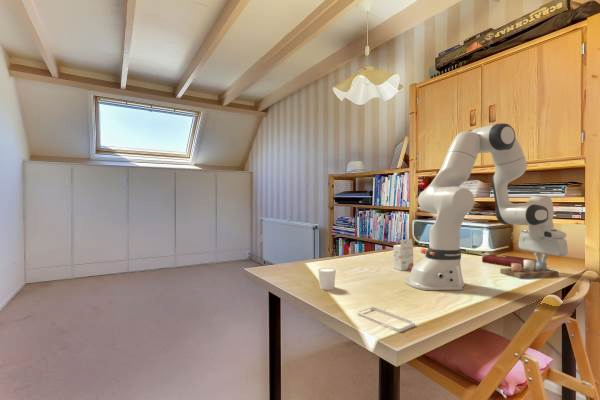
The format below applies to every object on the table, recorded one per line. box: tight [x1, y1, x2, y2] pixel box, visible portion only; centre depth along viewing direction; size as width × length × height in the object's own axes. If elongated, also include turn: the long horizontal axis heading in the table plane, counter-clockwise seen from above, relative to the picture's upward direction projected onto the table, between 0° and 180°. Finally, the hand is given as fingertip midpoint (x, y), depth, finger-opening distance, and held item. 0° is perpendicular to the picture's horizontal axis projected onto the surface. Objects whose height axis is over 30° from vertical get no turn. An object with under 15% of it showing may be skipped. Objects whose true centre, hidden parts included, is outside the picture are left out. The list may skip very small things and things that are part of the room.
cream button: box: [524, 260, 534, 271], centre depth 135 cm, size 4×4×4 cm
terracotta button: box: [510, 263, 522, 272], centre depth 133 cm, size 4×4×4 cm
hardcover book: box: [481, 253, 537, 268], centre depth 155 cm, size 12×21×4 cm, turn 31°
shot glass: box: [317, 267, 337, 291], centre depth 117 cm, size 7×7×7 cm
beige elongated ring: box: [356, 306, 415, 333], centre depth 86 cm, size 7×1×15 cm
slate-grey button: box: [536, 262, 548, 271], centre depth 136 cm, size 4×4×4 cm
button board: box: [499, 267, 560, 280], centre depth 135 cm, size 20×10×2 cm, turn 100°
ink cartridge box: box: [393, 238, 414, 271], centre depth 148 cm, size 9×5×15 cm, turn 118°
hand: (541, 262), depth 136 cm, fingers closed, pressing on slate-grey button
